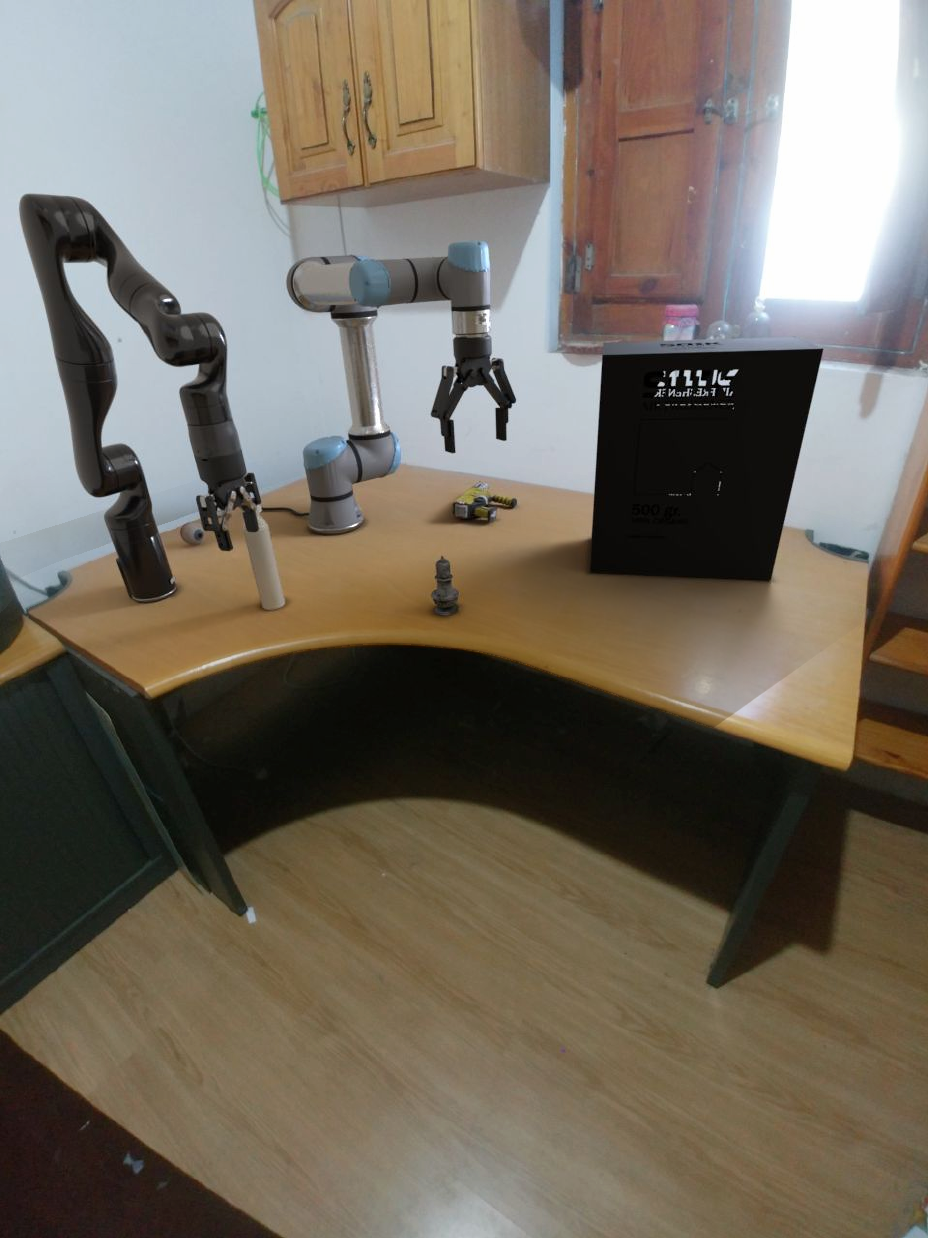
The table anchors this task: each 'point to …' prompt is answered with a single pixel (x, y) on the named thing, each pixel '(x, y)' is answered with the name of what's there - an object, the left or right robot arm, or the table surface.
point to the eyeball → (192, 533)
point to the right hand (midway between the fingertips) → (476, 445)
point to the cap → (257, 509)
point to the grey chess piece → (444, 590)
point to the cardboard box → (698, 455)
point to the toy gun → (479, 503)
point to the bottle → (264, 566)
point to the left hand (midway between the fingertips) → (240, 540)
